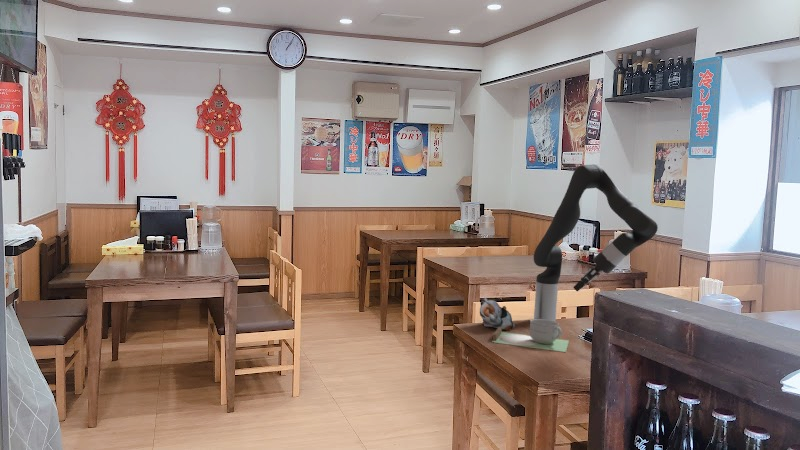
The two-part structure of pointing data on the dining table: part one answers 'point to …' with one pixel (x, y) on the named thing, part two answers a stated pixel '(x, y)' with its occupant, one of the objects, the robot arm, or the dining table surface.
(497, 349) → the dining table surface
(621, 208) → the robot arm
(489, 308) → the lucky cat figurine
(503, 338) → the putting green
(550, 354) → the dining table surface
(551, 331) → the teacup
